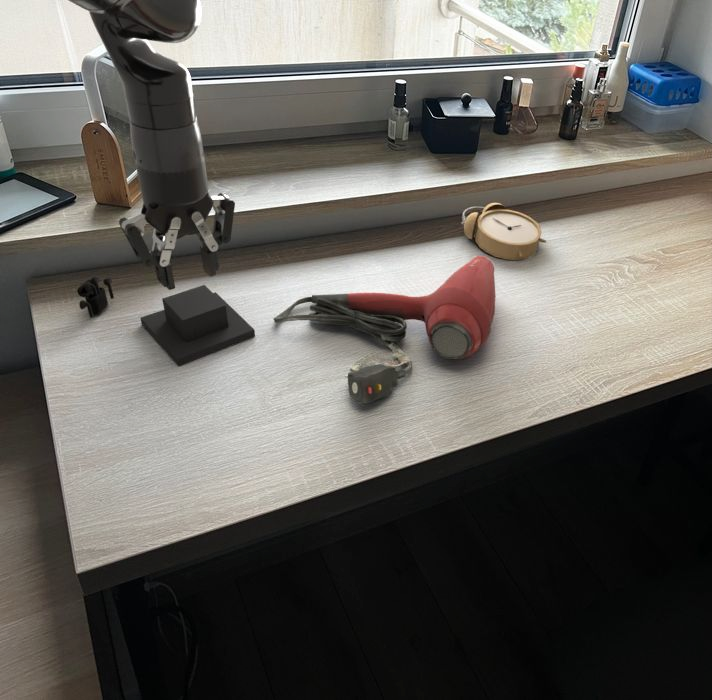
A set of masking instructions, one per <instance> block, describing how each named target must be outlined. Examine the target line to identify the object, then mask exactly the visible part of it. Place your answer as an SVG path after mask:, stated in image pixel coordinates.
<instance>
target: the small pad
mask: <svg viewBox="0 0 712 700" xmlns="http://www.w3.org/2000/svg"><path fill="white" fill-rule="evenodd" d="M213 293H214V292H213V291H211V289H209V287H207V286H206V285H205V284H202V285H200V286H196V287H193V288H191V289H187V290H184V291H181V292H178V293H175V294H171V295H169V296H166V297H163V298H161V299H162V300H161V301H162V305H163V310H164V311H165V316H166V320H167V321H168V323H169V324H170V325H171V326H172V327H173V328H174V329H175V330H176V331H177V332H178V333H179V335H180V336H181V337H182V338H183V339H184V340H185V341H186V342H189V341H192V340H195V339H197V338H200V337H202V336H205V335H208V334H210V333H213V332H216V331H218V330H221V329H224V328H227V327H229V326H228V318H227V311H226V305H225V304H224V303H223V302H222V301H221V300H220V299H219V298H218V297H217V296H216V295H215V294H213Z"/></svg>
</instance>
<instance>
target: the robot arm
mask: <svg viewBox="0 0 712 700" xmlns="http://www.w3.org/2000/svg"><path fill="white" fill-rule="evenodd" d="M67 1H69V2H70V3H72V4H74V5H76V6H77V7H80V8H82V9H84V10H86V11H88V13H89V16H90V19H91V21H92V23H93V26H94V28H95V29H96V32H97V34H98V35H99V38H100V40H101V42H102V44H103V47H104V48H105V51H106V52H107V54H108V56H109V58H110V61H111V63H112V65H113V67H114V69H115V72H116V73H117V75H118V77H119V80H120V82H121V86H122V89H123V94H124V99H125V104H126V108H127V110H126V111H127V114H128V121H129V131H130V133H129V134H130V143H131V148H132V149H131V154H132V158H133V159H134V164H135V168H136V173H137V178H138V183H139V188H140V193H141V198H142V203H143V204H142V208H141V210H140V214H137V215H136V216H134V217H131V218H128V217H121V218H120V219H119V220H118V225H119V227H120V228H121V231H122V232H123V235H124V236H125V238H126V240H127V241H128V243H129V245H130V247H131V249H132V251H133V253H134V255H135V256H136V258H138V260H139V261H140V262H141V263H142V264H143V265H144V266H146V267H151V266H154V270H155V274H156V279H157V281H158V282H159V283H160V285H162V286H163V287H164V288H167V290H168V291H171V290H174V289H176V283H175V278H174V273H173V268H172V267H173V266H172V264H171V263H170V260H171V256H172V251H174V250H175V247H176V243H177V240H179V239H181V238H183V237H185V236H193V235H196V237H197V238H198V239H199V241H200V243H201V244H202V245H199V248H200V249H199V250H200V256H201V261H202V262H201V263H202V268H203V272H204V273H205V274H207V276H209V277H210V278H211V277H214V276H217V271H219V268H220V264H219V263H220V262H219V256H218V249H219V248H220V246H221V245H223V244H225V245H227V244H229V243H230V242H231V240H232V232H233V223H234V215H235V207H236V202H235V201H234V200H233V199H232V198H231V197H230V196H229V195H228V194H227V195H226V193H224V192H220V193H218V194H217V195H210V193H209V183H208V182H209V181H208V175H207V166H206V160H205V159H206V158H205V152H204V146H203V138H202V132H201V129H200V126H199V122H198V118H197V111H196V102H195V94H194V89H193V81H192V78H191V77H192V76H191V74H190V72H189V70H188V68H187V67H186V66H185V65H183V64H181V62H179V61H176V60H174V59H172V58H169V57H167V56H165V55H162V54H160V53H159V52H157V51H156V50H155V49H154V48H153V47H152V46H151V44H150V43H149V41H150V42H158V43H166V44H179V43H182V42H185V41H187V40H189V39H190V38H191V37H193V35H194V34H195V33H196V31H197V30H198V28H199V25H200V23H201V18H202V5H201V1H200V0H67ZM212 210H213V211H214V218H213V219H214V220H213V226H212V227H213V229H212V231H211V229H210V228H209V225H208V224H207V223H206V221H207V220H208V217H209V215H210V213H211V211H212ZM147 224H148V225H150V226H151V227H152V228H153V231H152V232H153V233H152V241H153V242H152V247H151V250H149V248H148V246H147V244H146V241H145V240H144V238H143V236H145V233H146V229H145V226H147Z"/></svg>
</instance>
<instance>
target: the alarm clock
mask: <svg viewBox="0 0 712 700" xmlns="http://www.w3.org/2000/svg"><path fill="white" fill-rule="evenodd" d="M479 213H481V214H480V215H479ZM461 219H462V221H461V226H462V227H463V233H464V235H465V237H466V238H467V239H468V240H473V238H474V240H475V243H476V245H477V246H478V247H479V248H480V249H481V250H483V251H484V252H485V253H487V254H488V255H491V256H493V257H495V258H500V259H503V260H509V261H510V260H511V261H520V260H521V261H522V260H526V259H529V258H531V257H533V256H534V255H535V254H536V253H537V252H538V248H539V243H545V244H546V243H547V240H546V239H545V238H542V233H543V231H542V227H541V226H540V225H539V223H538V222H537V221H536V220H535V219H533V218H532V217H530V216H529V215H526V214H525V213H522V212H520V211H516V210H513V209H512V210H511V209H506V207H505V206H504V205H503V204H501V203H500V202H491V203H489V204H487V205H486V206H485V207H484V206H471V207H470V206H469V207H468V208H466V209H464V210H463V212H462V216H461Z"/></svg>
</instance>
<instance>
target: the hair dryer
mask: <svg viewBox="0 0 712 700" xmlns="http://www.w3.org/2000/svg"><path fill="white" fill-rule="evenodd" d="M495 269H496V267H495V263H494V261H492V260H491V259H490V258H489V257H487V256H485V255H476V256H474V257H473V258H471V260H470V261H468V262H467V263H465V264H464V265H463V266H461V267H459V268H458V269H456V271H455V272H454V273H452V274H451V275H450V276H449V277H448V278H447V279H446V280H445V281H444V283H442V285H440V286H439V287H438V288H437V289H436V290H434V291H433V292H432V293H430V294H427V295H422V296H409V295H403V294H398V293H396V294H395V293H387V292H352V293H333V294H330V293H329V294H312V295H311V296H305V297H302V298H299V299H298V300H296V301H295V302H293V304H291V305H290V306H288V307H287V308H286V309H285V310H284V311H282V312H280V313H279V314H278V315H276V316H274V317H273V318H272V319H273V321H274V323H275V324H280V323H286V322H295V321H309V322H312V323H315V324H325V325H338V326H346V327H351V328H353V329H355V330H359V331H362V332H364V333H366V334H369V335H371V336H373V337H374V338H375V339H377V340H379V341H380V342H381V343H383V344H385V346H386V347H388V348H389V349H390V350H391V351H392V353H388V354H384V355H380V354H381V352H375V351H372V352H371V351H370V352H368V353H366V354H365V355H362V356H361V357H360V358H358V359H357V360H356V361H355V362H353V363H352V364H351V365H350V366H349V370H351V371H349V372H348V373H346V374H344V377H345V379H347V383H345V388H347V389H348V393H349V398H351V400H353V401H355V402H356V403H362V404H368V403H372V402H374V401H377V400H379V399H382V398H384V397H386V396H389V395H391V394H392V391H393V388H394V387H397V386H398V383H399V380H400V379H403V378H405V377H407V375H408V374H409V373H410V372H411V371H412V368H413V360H412V359H411V358H410V357H409V356H408V355H407V354H406V353H405V352H404V351H403V350H402V349H401V348H400V347H399V346H398V345H397V344H400V343H401V341H402V340H404V339H405V338H406V336H407V335H406V334H407V331H406V330H407V328H408V326H407V321H411V320H413V321H415V320H416V321H420V322H423V323H424V325H425V332H426V335H427V338H428V342H429V344H430V346H431V347H432V348H433V350H434V352H436V353H437V354H438V355H439V356H442V357H443V358H445V359H450V360H460V359H465V358H468V357H470V356H471V355H473V354H474V353H476V352H478V350H480V349H481V348H482V347H483V346H484V344H485V343H486V342H487V340H488V339H489V336H490V333H491V331H492V324H493V322H494V321H493V320H494V316H495V310H496V297H497V296H496V282H495V281H496V280H495ZM306 303H311V304H310V305H309V308H308V309H309V311H311V312H310V313H308V314H294V315H293V314H291V312H292V311H293V310H294V309H295V307H297V306H299V305H302V304H306ZM289 314H291V315H289ZM396 343H397V344H396ZM379 355H380V356H379ZM375 356H377V357H375ZM383 357H387V358H383ZM390 359H391V360H390ZM396 359H397V360H396ZM404 364H406V365H407V366H406V367H405V368H401V369H397V368H396V367H400V366H402V365H404Z"/></svg>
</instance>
